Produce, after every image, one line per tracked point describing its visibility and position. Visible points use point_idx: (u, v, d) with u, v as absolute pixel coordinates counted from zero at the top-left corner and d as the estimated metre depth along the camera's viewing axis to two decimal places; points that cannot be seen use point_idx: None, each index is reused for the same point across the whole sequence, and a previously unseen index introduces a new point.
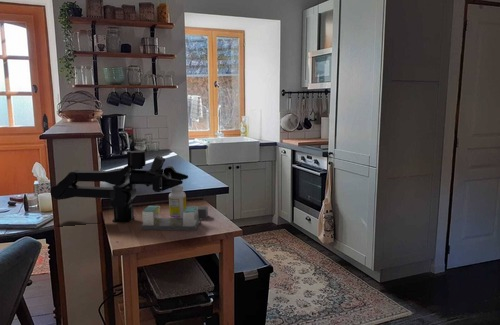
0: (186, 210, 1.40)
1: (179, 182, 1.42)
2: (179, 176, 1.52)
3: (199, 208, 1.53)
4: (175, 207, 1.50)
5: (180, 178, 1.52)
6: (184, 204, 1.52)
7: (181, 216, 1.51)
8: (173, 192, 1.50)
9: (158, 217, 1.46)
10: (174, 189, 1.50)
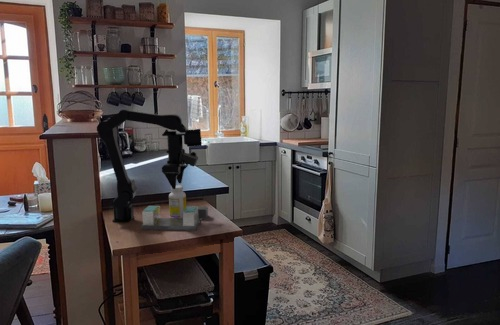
0: (186, 210, 1.40)
1: (173, 186, 1.47)
2: (179, 174, 1.56)
3: (199, 208, 1.53)
4: (175, 207, 1.50)
5: (177, 176, 1.56)
6: (184, 204, 1.52)
7: (181, 216, 1.51)
8: (173, 192, 1.50)
9: (158, 217, 1.46)
10: (174, 189, 1.50)
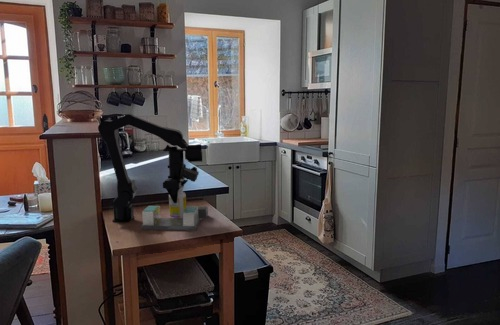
0: (186, 210, 1.40)
1: (175, 200, 1.49)
2: None
3: (199, 208, 1.53)
4: (175, 207, 1.50)
5: None
6: (184, 204, 1.52)
7: (181, 216, 1.51)
8: None
9: (158, 217, 1.46)
10: None
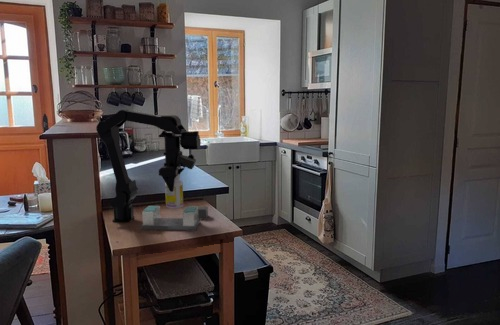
0: (186, 210, 1.40)
1: (171, 188, 1.43)
2: None
3: (199, 208, 1.53)
4: (172, 196, 1.44)
5: None
6: (181, 193, 1.46)
7: (178, 205, 1.45)
8: None
9: (158, 217, 1.46)
10: None
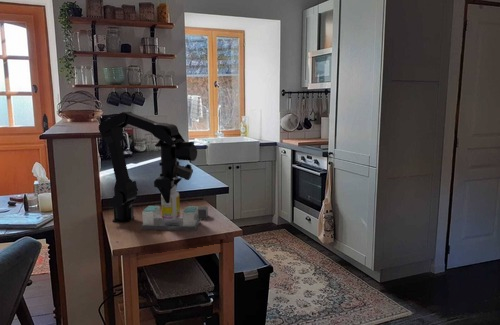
0: (186, 210, 1.40)
1: (167, 200, 1.39)
2: None
3: (199, 208, 1.53)
4: (168, 207, 1.40)
5: None
6: (177, 204, 1.41)
7: (174, 217, 1.41)
8: None
9: (158, 217, 1.46)
10: None
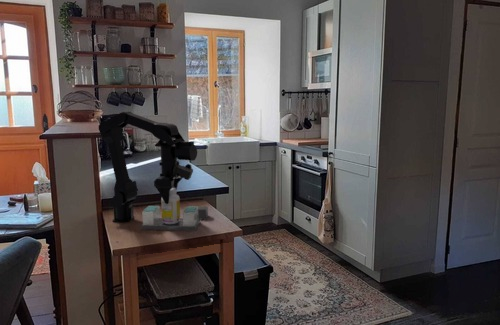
0: (186, 210, 1.40)
1: (166, 200, 1.37)
2: None
3: (199, 208, 1.53)
4: (168, 211, 1.40)
5: None
6: (178, 208, 1.41)
7: (174, 221, 1.41)
8: None
9: (158, 217, 1.46)
10: None
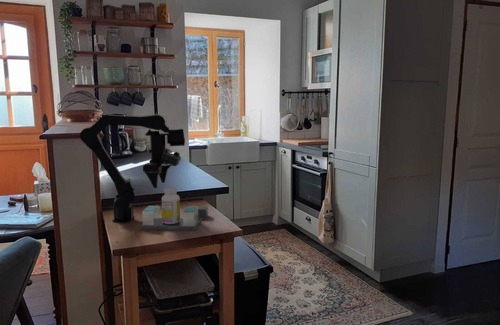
0: (186, 210, 1.40)
1: (155, 185, 1.48)
2: (163, 174, 1.57)
3: (199, 208, 1.53)
4: (168, 211, 1.40)
5: (161, 175, 1.57)
6: (178, 208, 1.42)
7: (174, 220, 1.41)
8: (166, 195, 1.40)
9: (158, 217, 1.46)
10: (167, 191, 1.40)
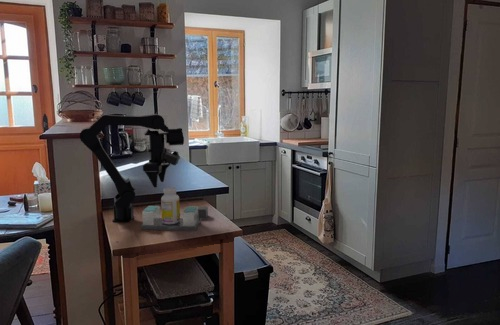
0: (186, 210, 1.40)
1: (155, 184, 1.49)
2: (162, 173, 1.58)
3: (199, 208, 1.53)
4: (168, 211, 1.40)
5: (160, 174, 1.58)
6: (177, 208, 1.42)
7: (174, 221, 1.41)
8: (166, 195, 1.40)
9: (158, 217, 1.46)
10: (167, 192, 1.40)
